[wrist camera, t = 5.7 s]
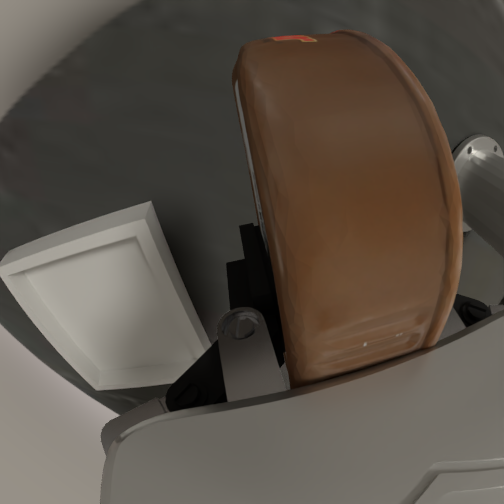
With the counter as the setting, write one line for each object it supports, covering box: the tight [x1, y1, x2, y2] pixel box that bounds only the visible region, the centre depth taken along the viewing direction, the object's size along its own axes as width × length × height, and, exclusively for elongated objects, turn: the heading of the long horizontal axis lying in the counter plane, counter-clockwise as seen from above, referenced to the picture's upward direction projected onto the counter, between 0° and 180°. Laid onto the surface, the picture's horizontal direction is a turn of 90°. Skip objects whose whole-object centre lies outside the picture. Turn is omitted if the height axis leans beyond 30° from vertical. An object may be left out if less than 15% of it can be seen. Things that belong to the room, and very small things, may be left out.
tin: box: [232, 30, 463, 389], centre depth 9 cm, size 15×3×8 cm, turn 10°
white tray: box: [0, 201, 212, 390], centre depth 28 cm, size 18×22×3 cm
